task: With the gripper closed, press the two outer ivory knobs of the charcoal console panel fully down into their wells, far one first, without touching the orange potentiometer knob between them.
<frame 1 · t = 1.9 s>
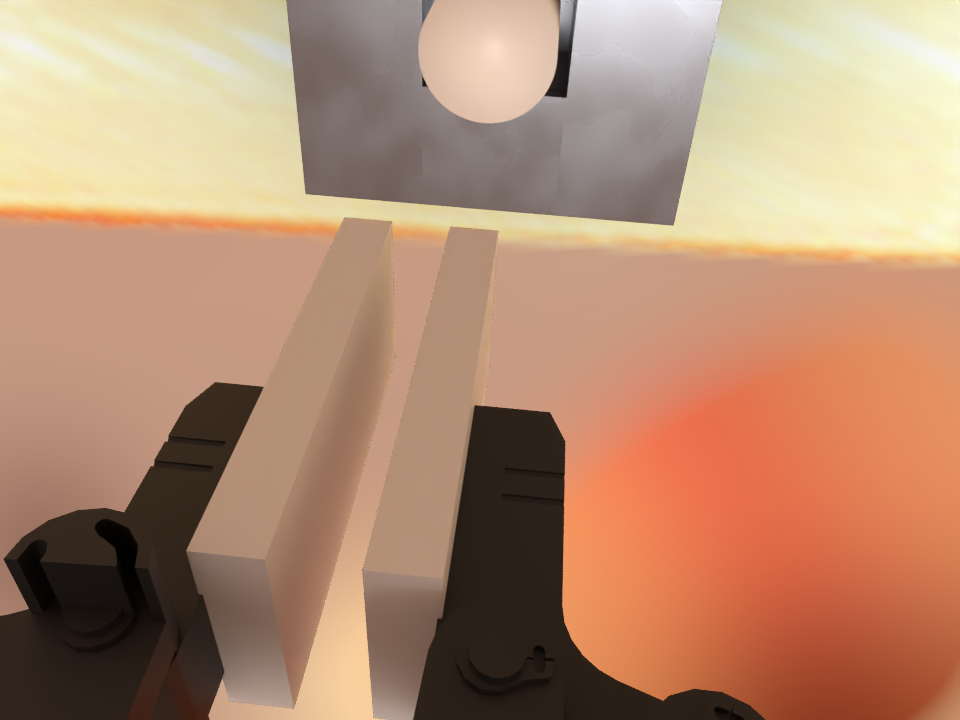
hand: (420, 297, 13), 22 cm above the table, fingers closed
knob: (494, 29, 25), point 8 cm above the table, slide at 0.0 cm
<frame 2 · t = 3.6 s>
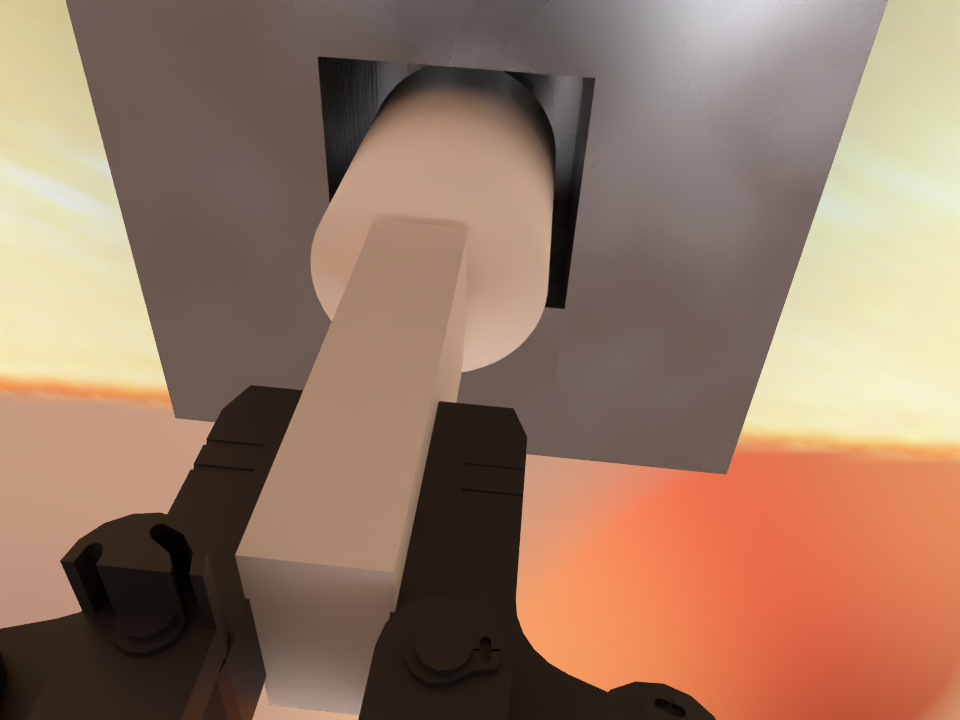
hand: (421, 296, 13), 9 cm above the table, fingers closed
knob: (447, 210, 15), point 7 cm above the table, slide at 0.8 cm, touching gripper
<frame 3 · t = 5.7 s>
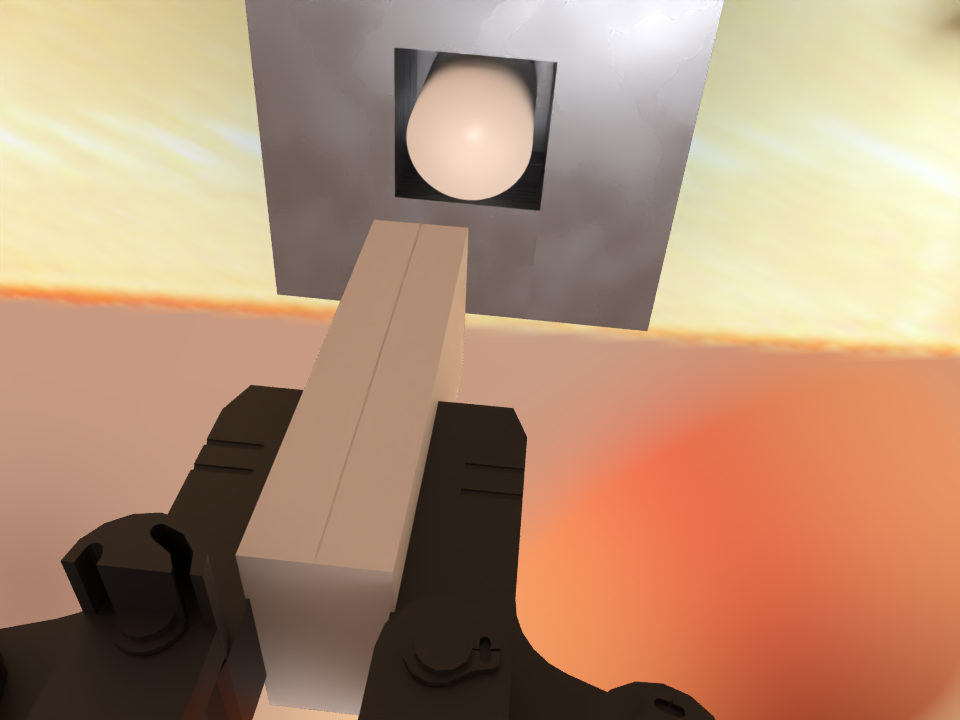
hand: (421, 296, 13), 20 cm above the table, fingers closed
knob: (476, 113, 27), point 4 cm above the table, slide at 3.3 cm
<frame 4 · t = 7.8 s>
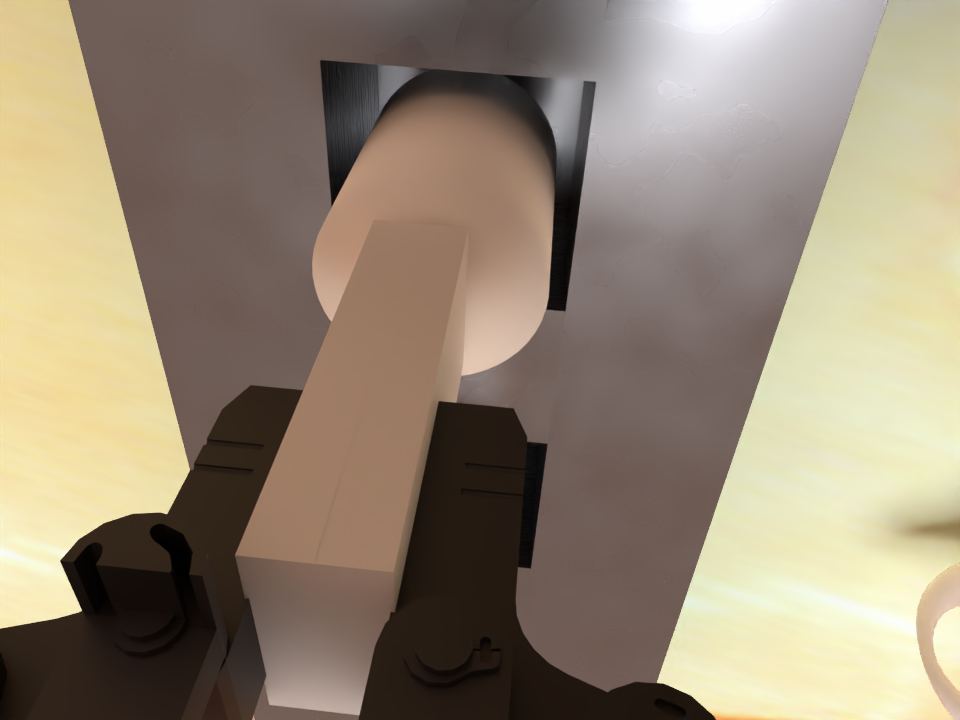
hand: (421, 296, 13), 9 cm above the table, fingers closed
panel: (470, 362, 26), on the table
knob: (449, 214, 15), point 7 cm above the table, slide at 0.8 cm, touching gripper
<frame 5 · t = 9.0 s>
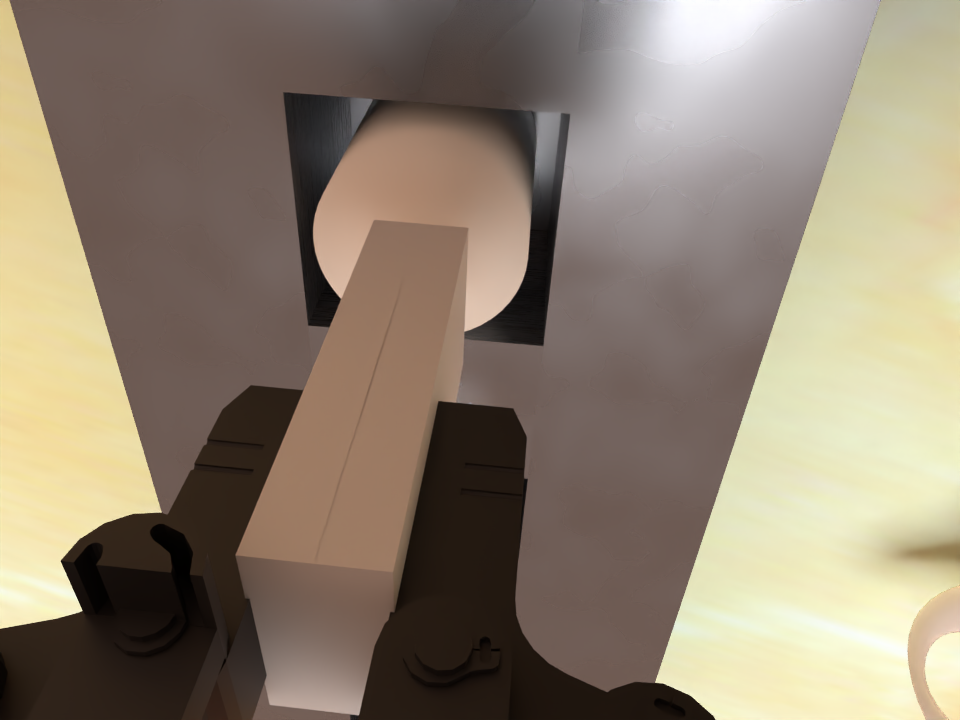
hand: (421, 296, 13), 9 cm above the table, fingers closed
panel: (450, 388, 26), on the table
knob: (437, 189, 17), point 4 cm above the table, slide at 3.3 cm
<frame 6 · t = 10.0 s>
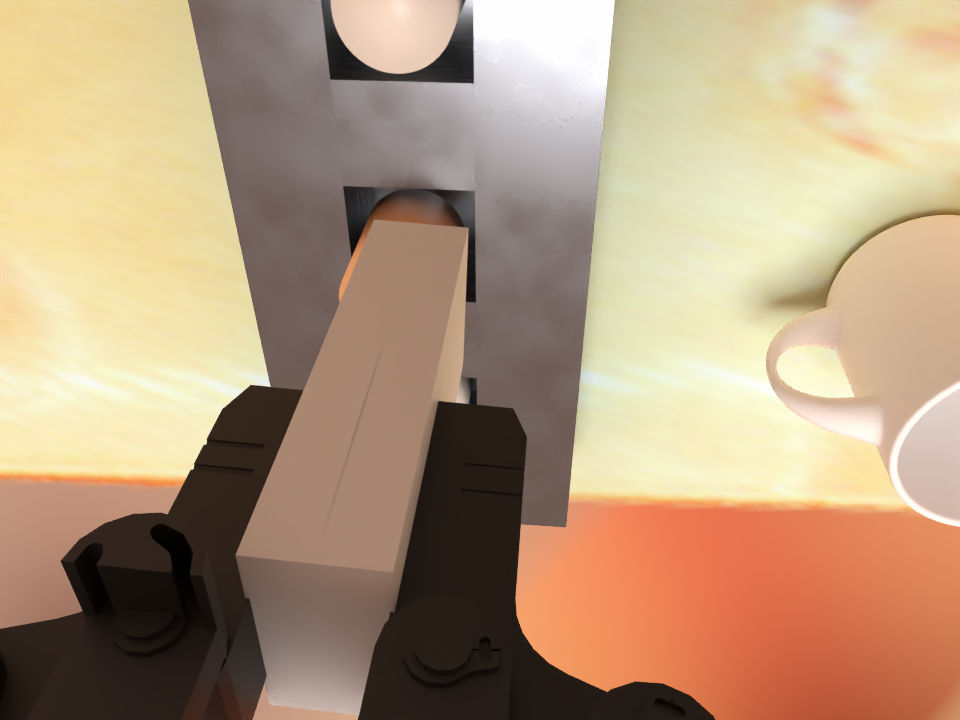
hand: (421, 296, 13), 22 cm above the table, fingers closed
knob mid: (406, 266, 31), point 8 cm above the table, slide at 0.0 cm
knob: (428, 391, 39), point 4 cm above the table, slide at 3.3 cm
mug: (878, 291, 38), on the table
panel: (433, 179, 36), on the table
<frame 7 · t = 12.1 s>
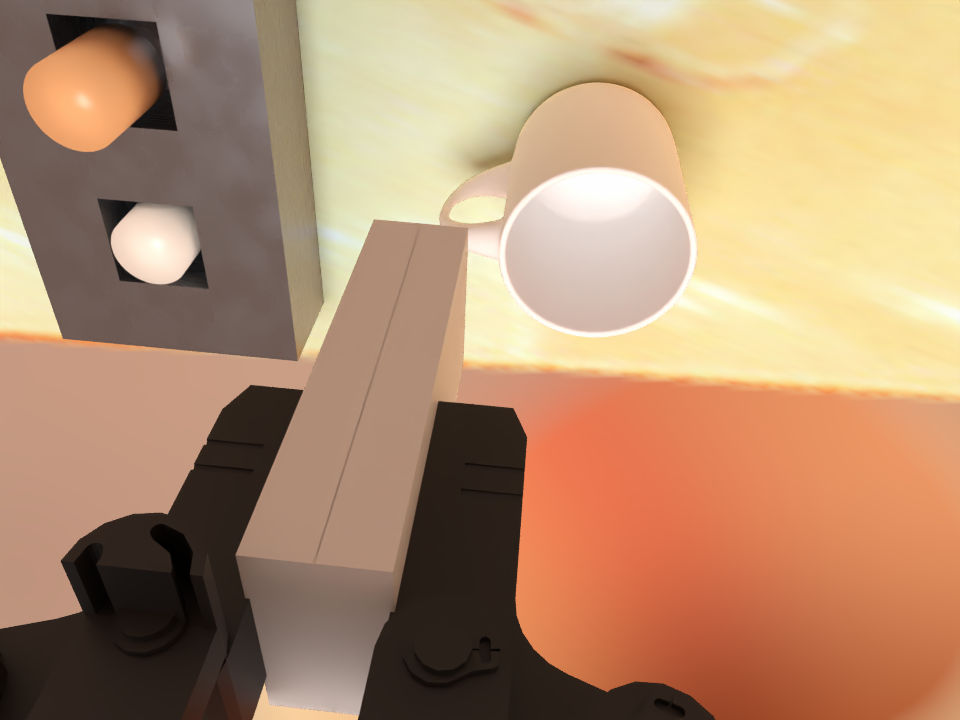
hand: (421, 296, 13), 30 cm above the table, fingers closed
knob mid: (99, 86, 36), point 8 cm above the table, slide at 0.0 cm
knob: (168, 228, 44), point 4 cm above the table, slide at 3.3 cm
mug: (561, 157, 44), on the table
panel: (166, 35, 42), on the table
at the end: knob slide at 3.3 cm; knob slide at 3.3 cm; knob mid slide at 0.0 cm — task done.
